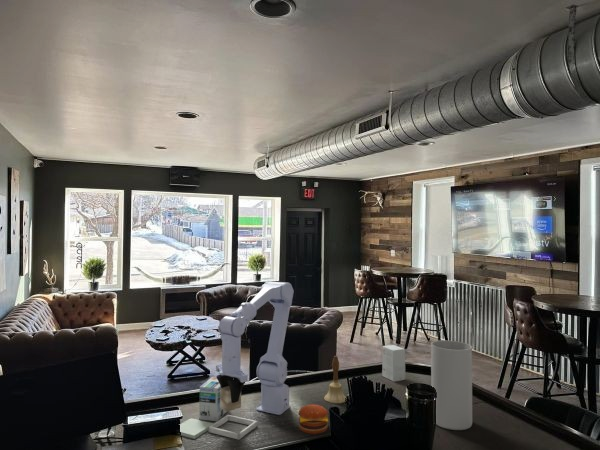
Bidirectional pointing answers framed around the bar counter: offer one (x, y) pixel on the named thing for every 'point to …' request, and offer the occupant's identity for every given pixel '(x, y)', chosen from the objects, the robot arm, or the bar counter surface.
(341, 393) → the hand bell
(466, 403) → the cylinder vase
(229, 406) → the ash block
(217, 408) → the light bulb box
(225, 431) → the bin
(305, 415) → the hamburger
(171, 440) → the bar counter surface
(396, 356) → the small box
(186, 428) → the board
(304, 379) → the bar counter surface
